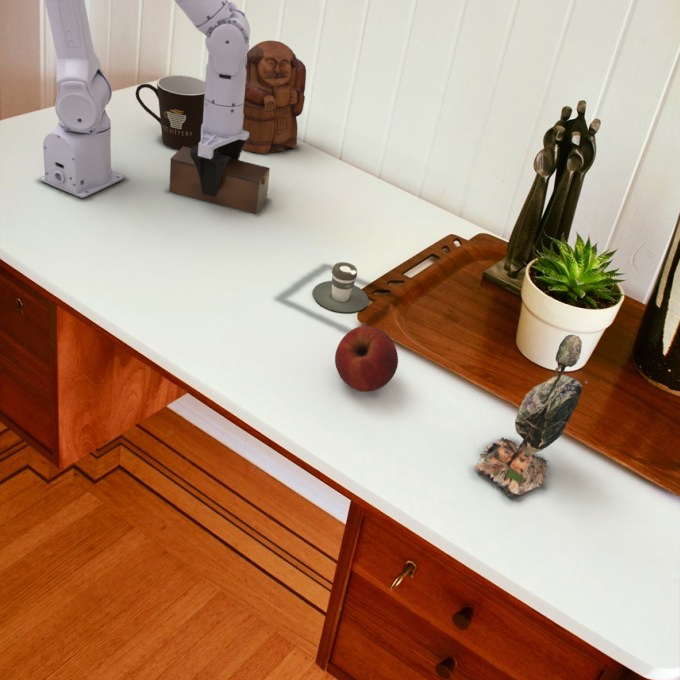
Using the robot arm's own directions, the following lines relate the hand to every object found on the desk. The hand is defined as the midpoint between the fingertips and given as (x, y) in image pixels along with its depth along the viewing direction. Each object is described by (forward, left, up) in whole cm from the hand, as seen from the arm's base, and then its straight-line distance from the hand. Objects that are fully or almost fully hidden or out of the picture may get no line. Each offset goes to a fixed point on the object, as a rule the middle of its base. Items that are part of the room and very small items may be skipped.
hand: (218, 184), depth 136 cm
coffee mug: (+12, +17, -2) cm, 21 cm away
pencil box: (0, 0, -2) cm, 2 cm away
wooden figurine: (+22, +5, -2) cm, 23 cm away
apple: (-28, -40, -2) cm, 49 cm away
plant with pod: (-30, -61, -2) cm, 68 cm away
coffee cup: (-13, -29, -2) cm, 32 cm away
